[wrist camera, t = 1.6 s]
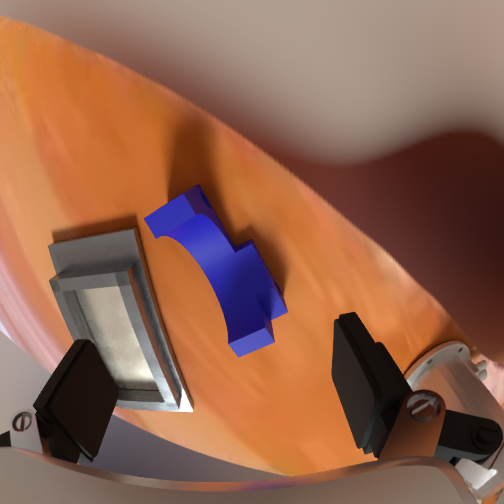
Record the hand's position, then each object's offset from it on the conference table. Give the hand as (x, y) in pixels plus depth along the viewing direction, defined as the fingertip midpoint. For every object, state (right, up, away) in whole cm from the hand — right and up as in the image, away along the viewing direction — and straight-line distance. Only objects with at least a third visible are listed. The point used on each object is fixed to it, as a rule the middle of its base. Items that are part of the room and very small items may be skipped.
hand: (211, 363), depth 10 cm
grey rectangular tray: (-12, -5, +17) cm, 21 cm away
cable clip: (-1, +4, +14) cm, 15 cm away
